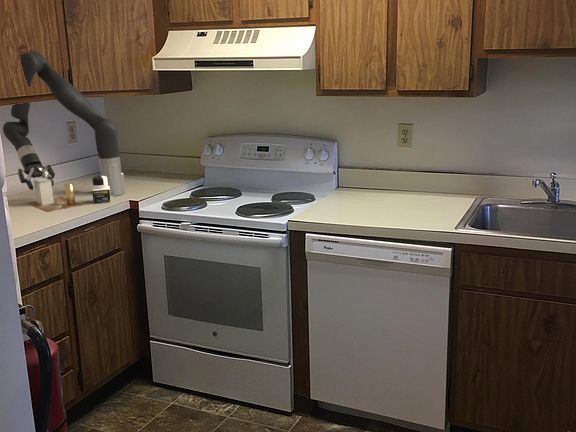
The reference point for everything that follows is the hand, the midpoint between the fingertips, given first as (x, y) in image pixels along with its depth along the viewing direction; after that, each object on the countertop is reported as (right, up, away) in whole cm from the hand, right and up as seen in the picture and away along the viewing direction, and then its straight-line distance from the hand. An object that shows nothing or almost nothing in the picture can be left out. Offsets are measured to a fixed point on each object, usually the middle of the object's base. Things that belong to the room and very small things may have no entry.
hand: (42, 187), depth 274 cm
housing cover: (+1, -7, +1) cm, 7 cm away
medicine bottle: (+26, -7, 0) cm, 27 cm away
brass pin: (+14, -8, -5) cm, 17 cm away
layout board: (+6, -8, -1) cm, 10 cm away
